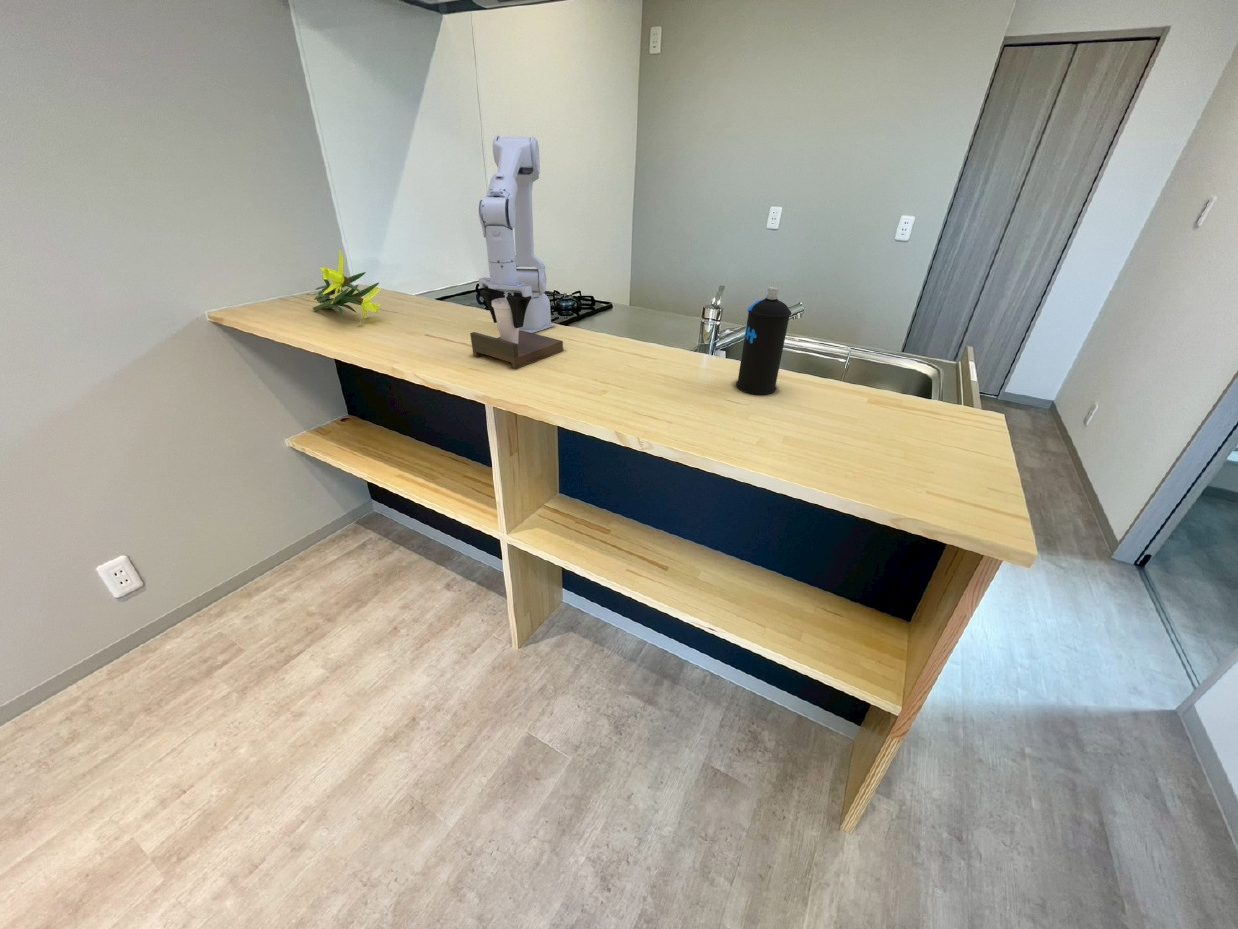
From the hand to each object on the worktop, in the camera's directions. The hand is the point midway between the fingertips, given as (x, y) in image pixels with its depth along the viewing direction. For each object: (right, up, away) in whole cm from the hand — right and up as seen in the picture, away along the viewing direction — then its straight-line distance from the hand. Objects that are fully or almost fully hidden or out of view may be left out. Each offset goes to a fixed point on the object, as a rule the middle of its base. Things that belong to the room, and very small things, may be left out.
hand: (508, 324), depth 112 cm
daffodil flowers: (-54, +10, +28) cm, 62 cm away
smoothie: (0, -4, +2) cm, 5 cm away
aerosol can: (+54, -16, -9) cm, 57 cm away
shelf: (+1, -5, +6) cm, 8 cm away
